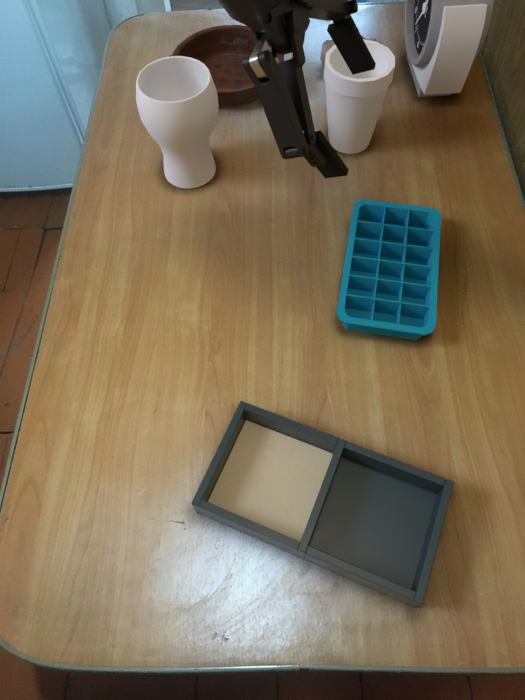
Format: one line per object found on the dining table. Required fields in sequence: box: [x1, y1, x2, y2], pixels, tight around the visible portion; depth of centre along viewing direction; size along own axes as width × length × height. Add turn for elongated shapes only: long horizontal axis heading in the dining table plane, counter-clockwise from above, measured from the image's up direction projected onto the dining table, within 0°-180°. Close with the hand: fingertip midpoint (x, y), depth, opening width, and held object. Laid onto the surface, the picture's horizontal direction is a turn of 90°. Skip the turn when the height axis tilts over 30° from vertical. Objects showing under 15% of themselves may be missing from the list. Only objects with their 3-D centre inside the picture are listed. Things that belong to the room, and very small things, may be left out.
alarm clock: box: [403, 0, 495, 98], centre depth 83 cm, size 18×8×20 cm, turn 3°
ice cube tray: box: [336, 198, 442, 341], centre depth 71 cm, size 12×20×3 cm, turn 169°
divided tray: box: [190, 400, 455, 608], centre depth 56 cm, size 23×12×4 cm, turn 67°
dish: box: [168, 24, 285, 107], centre depth 91 cm, size 18×22×5 cm
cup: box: [135, 55, 220, 189], centre depth 76 cm, size 11×11×15 cm
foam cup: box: [323, 39, 396, 155], centre depth 80 cm, size 10×9×13 cm
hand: (351, 120), depth 61 cm, fingers open, 13 cm apart
